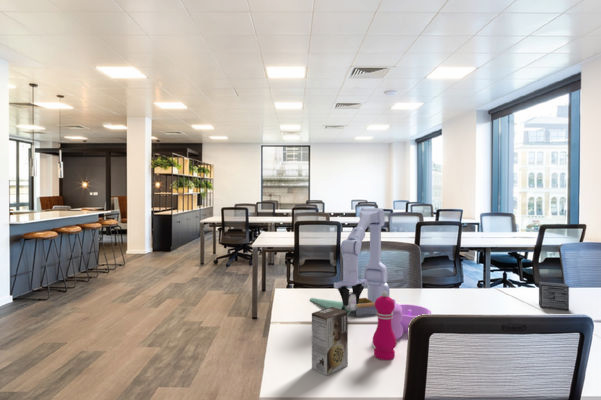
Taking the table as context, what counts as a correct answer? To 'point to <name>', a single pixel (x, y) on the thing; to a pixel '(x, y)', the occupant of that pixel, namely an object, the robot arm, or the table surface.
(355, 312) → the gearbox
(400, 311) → the container set
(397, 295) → the table surface
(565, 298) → the small box
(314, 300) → the mint green cylinder
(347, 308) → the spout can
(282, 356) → the table surface
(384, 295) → the pepper mill
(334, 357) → the grey cardboard box
